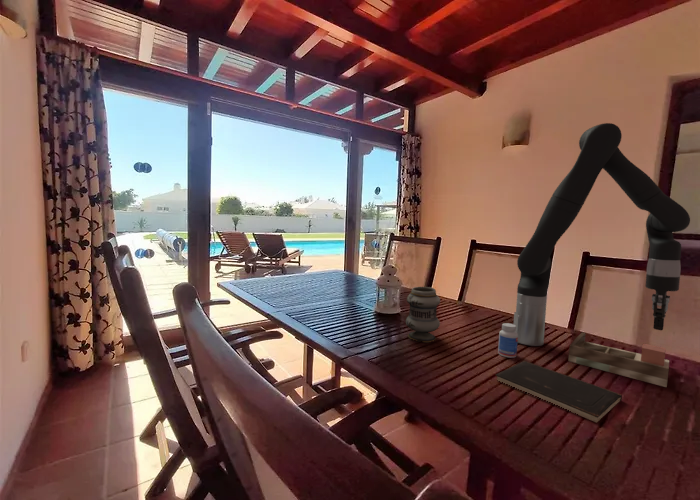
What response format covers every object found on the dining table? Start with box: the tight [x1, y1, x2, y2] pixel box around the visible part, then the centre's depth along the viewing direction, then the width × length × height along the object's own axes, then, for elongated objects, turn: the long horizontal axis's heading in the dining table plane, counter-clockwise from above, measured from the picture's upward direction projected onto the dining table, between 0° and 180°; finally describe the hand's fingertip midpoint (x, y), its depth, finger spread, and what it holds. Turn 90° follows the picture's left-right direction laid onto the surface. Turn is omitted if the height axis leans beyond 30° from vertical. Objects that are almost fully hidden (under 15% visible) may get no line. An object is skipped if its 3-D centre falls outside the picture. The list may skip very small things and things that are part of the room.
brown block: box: [640, 343, 667, 366], centre depth 98 cm, size 5×5×4 cm
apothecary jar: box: [405, 286, 441, 343], centre depth 120 cm, size 12×12×18 cm
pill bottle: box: [497, 322, 519, 359], centre depth 106 cm, size 6×5×10 cm
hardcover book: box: [494, 360, 623, 423], centre depth 84 cm, size 16×23×2 cm
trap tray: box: [567, 331, 670, 388], centre depth 101 cm, size 22×18×5 cm
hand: (658, 329), depth 103 cm, fingers closed
